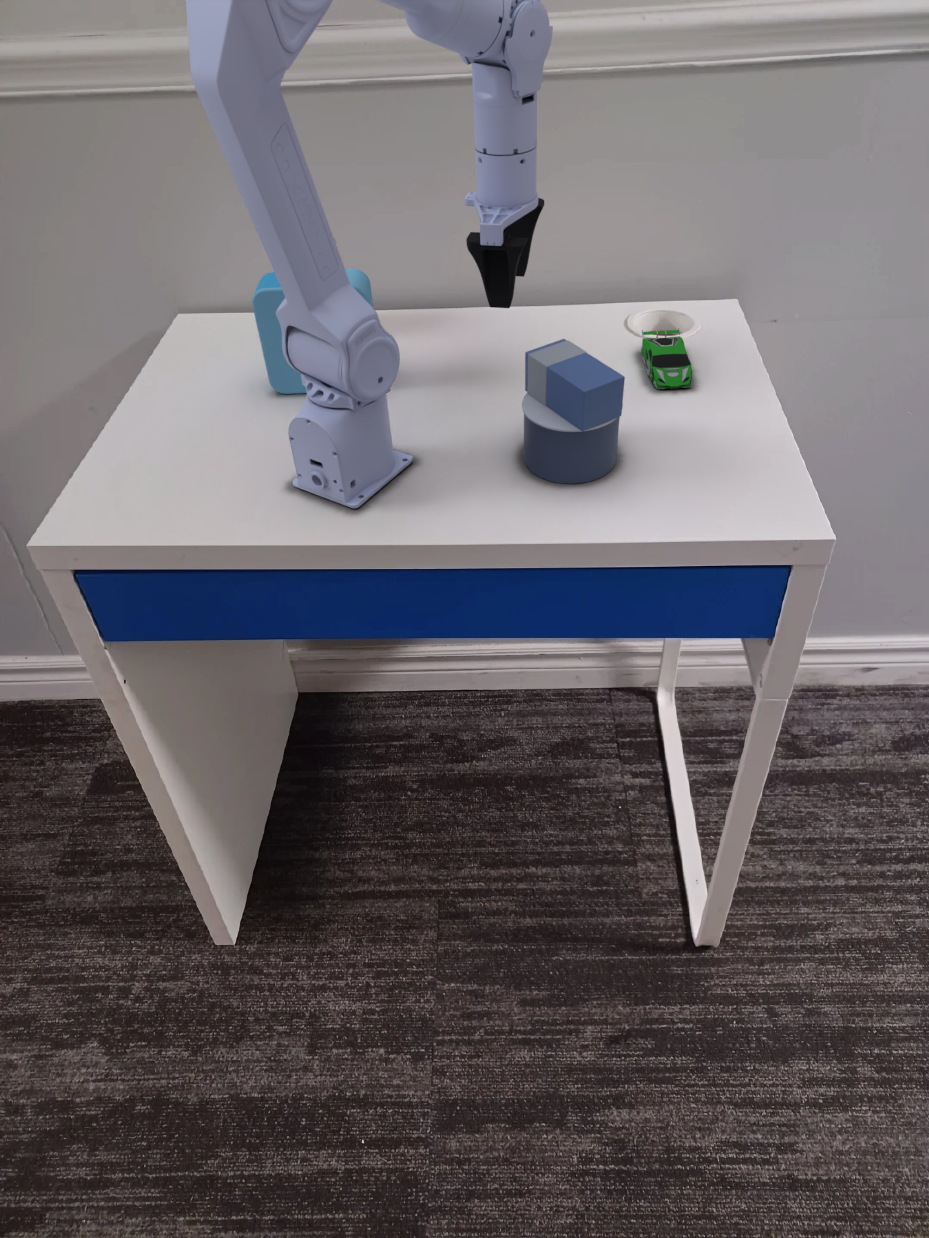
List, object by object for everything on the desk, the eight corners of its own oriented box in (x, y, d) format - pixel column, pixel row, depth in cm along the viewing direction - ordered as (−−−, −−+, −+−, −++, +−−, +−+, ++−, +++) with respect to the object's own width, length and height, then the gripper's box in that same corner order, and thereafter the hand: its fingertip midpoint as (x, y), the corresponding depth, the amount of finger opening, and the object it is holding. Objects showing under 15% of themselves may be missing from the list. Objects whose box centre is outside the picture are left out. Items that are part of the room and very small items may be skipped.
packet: (581, 432, 79) (584, 391, 77) (524, 391, 85) (524, 351, 82) (622, 416, 81) (625, 375, 78) (563, 377, 87) (564, 337, 84)
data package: (381, 371, 102) (368, 267, 94) (378, 391, 99) (364, 285, 90) (278, 375, 102) (256, 272, 94) (271, 395, 99) (248, 290, 91)
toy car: (696, 389, 95) (698, 370, 94) (652, 391, 96) (654, 372, 94) (679, 346, 103) (681, 327, 101) (638, 348, 103) (639, 329, 101)
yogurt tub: (590, 496, 82) (593, 440, 78) (504, 468, 86) (502, 413, 82) (634, 447, 88) (639, 393, 84) (551, 423, 92) (552, 370, 88)
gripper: (480, 123, 88) (485, 260, 97) (444, 171, 78) (453, 319, 87) (551, 124, 86) (549, 263, 96) (523, 173, 76) (523, 323, 86)
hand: (507, 290), depth 91 cm, fingers open, 7 cm apart
